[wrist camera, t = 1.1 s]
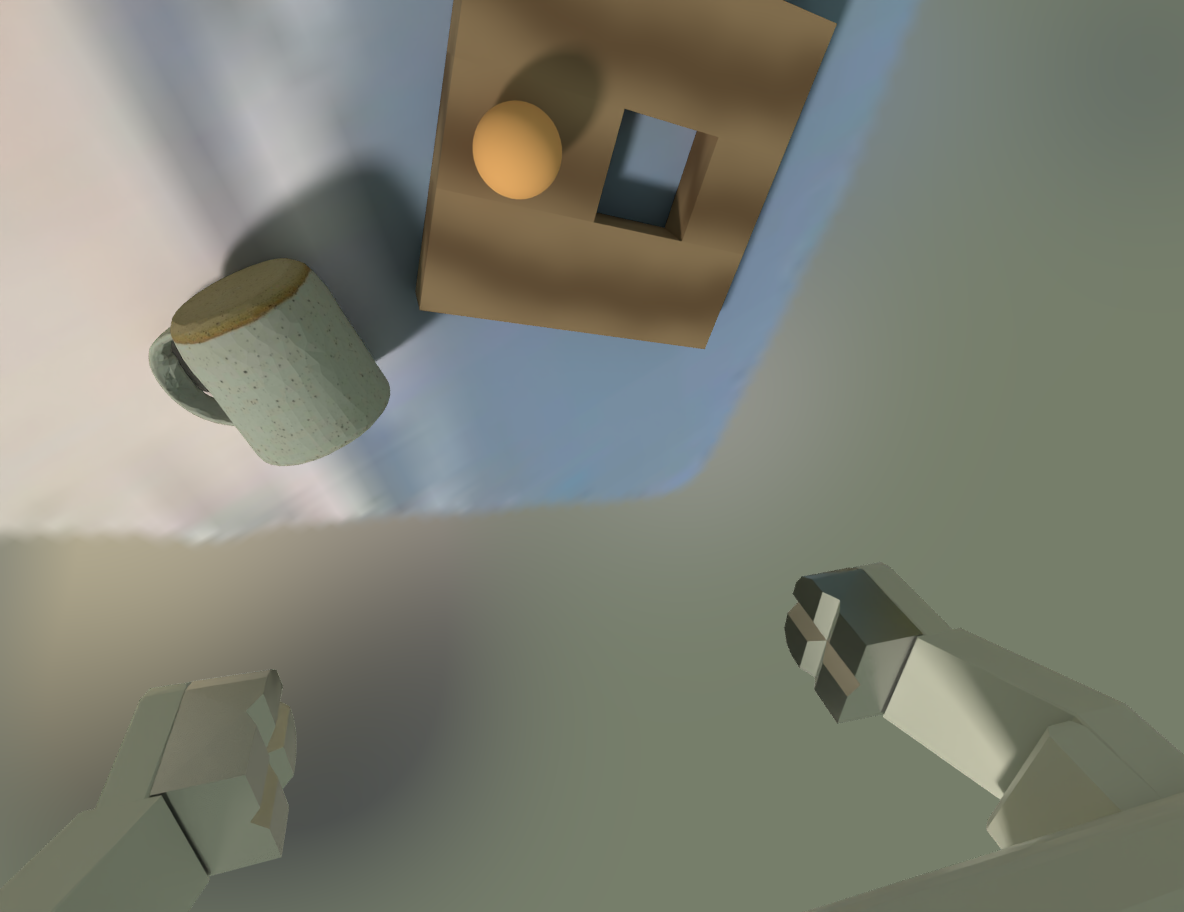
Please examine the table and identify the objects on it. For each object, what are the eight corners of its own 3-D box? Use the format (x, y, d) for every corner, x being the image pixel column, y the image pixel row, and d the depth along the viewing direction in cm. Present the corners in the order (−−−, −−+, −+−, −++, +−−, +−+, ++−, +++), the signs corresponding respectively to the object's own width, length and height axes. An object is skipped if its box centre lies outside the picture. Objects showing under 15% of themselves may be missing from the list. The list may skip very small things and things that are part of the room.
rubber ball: (474, 82, 28) (490, 96, 25) (558, 107, 29) (583, 123, 26) (459, 176, 30) (473, 199, 27) (539, 194, 31) (559, 218, 28)
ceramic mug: (308, 231, 32) (297, 290, 26) (390, 359, 37) (396, 432, 31) (112, 315, 31) (57, 394, 25) (224, 432, 37) (199, 520, 31)
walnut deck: (469, -124, 26) (480, -132, 24) (808, 20, 33) (836, 23, 31) (415, 291, 35) (419, 309, 33) (688, 332, 42) (704, 348, 40)
